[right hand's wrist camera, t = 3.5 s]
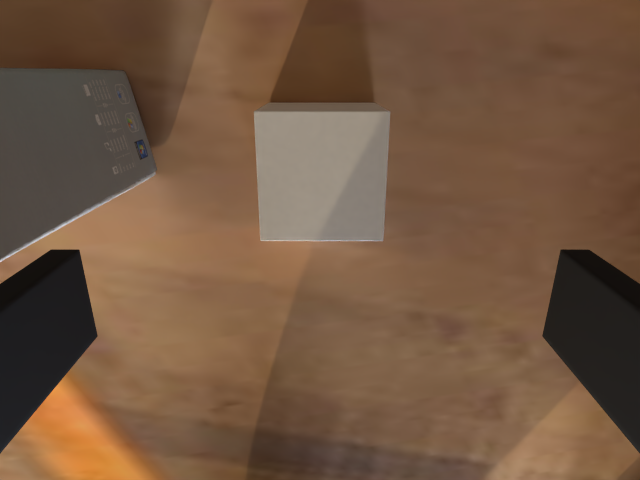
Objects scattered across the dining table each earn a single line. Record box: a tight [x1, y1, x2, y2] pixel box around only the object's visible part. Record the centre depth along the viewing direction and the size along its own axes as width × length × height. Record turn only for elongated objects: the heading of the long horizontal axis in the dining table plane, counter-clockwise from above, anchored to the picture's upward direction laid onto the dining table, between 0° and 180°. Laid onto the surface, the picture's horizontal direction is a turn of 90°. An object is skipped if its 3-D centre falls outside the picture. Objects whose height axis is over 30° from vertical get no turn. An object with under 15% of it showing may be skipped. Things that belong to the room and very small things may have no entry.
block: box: [254, 103, 390, 241], centre depth 30 cm, size 8×8×7 cm
